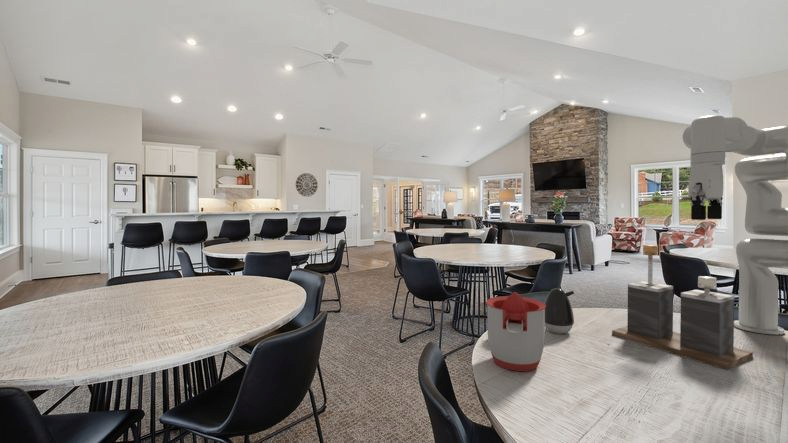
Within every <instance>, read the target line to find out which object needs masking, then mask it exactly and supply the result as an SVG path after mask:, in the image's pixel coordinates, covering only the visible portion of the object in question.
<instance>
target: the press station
mask: <svg viewBox="0 0 788 443" xmlns="http://www.w3.org/2000/svg"><path fill="white" fill-rule="evenodd" d="M734 321H735V295H734V294H726V293H721V292H715V291H710V295H704V290H701V289H693V290H688V291H683V292H680V321H679V322H680V323H679V324H680V327H679V328H680V330H679V331H680V332H677V331H673V330H674V285H669V284H665V283H664V284H663V283H657V282H652V286H649V285H648V281H645V280H642V281H637V282H632V283H627V325H626V326H622V327H619V328H616V329H612V332H611V334H612V336H616V337H619V338H622V339H625V340H629V341H632V342H635V343H639V344H642V345H645V346H649V347H652V348H654V349H658V350H662V351H664V352H668V353H672V354H675V355H677V356H681V357H684V358H688V359H691V360H695V361H697V362H702V363H704V364H708V365H710V366H715V367H718V368H721V369H725V370H729V369H731V368H733V367H736V366H738V365H740V364H742V363H745V362H746V361H749V360H750V359H753V357H754V352H753V351H751V350H747V349H746V350H745V349H742V348H738V347H734V346H735V345H734V344H735V343H734V342H735V340H734V336H735V333H734V332H735V326H734Z"/></svg>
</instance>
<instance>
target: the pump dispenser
mask: <svg viewBox="0 0 788 443" xmlns="http://www.w3.org/2000/svg"><path fill="white" fill-rule="evenodd" d="M574 294H575V292H574V290H571V291H567V292H565V290H563V289H562V288H559V287H556V288H552V289H551V290H550V291H549V292H548V294H547V296H546V298H545V299H544V302H543V303H544V304H545V305H546V308H545V330H547V331H549V332H550V331H551V332H550V333H553V334H557V333H558V334H557V335H564V334H567V333H569V332H570V331H571V330H572V328H573V325H574V324H575V317H574V316H575V315H574V311H573V307H572V303H571V301H570V299H569V297H571V296H572V295H574Z"/></svg>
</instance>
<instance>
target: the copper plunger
mask: <svg viewBox="0 0 788 443" xmlns="http://www.w3.org/2000/svg"><path fill="white" fill-rule="evenodd" d="M642 255H644V256H647V282H648V285H649V286H652V283H653V276H654V275H653V274H654V273H653V265H654V264H653V262H654V260H653V259H654V258H653V257H654V256H659V245H656V244H655V245H653V244H643V245H642Z"/></svg>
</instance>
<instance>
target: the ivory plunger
mask: <svg viewBox="0 0 788 443" xmlns="http://www.w3.org/2000/svg"><path fill="white" fill-rule="evenodd" d="M717 279H718V278H717V277H715V276H714V277H713V276H709V275H708V276H706V275H704V276H703V275H702V276H701V275H699V276H698V277H697V287H698V289H699V288H700V289H704V290H703V291H704V295H710V292H711V290H717V281H718V280H717Z"/></svg>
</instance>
